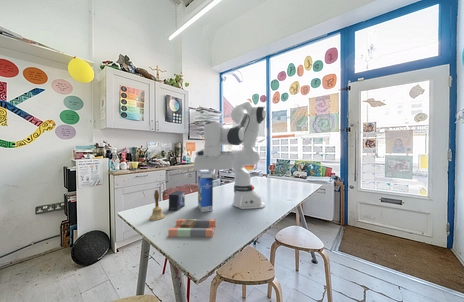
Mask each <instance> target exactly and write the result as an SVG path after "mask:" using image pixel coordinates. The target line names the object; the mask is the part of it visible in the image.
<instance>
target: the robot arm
mask: <svg viewBox="0 0 464 302" xmlns="http://www.w3.org/2000/svg"><path fill="white" fill-rule="evenodd" d="M266 116H267V110H266V108H265V106H263V105H253V103H252V102H251V101H249V100H247V99H244V100H241V101H240V102H238V103H237V104H236V105H235V107H234V108H233V109H231V112H230V117H231V120H232V121H233V122H234V124H236V125H235V126H230V127H227V126H226V127H223V126H222V125H221V124H220V122H219V121H218V120H212V121H211V120H210V121H206V122H205V123H204V126H203V139H204V146H203V147H204V148H203V149H200V150H198V151H196V152H195V157H194V160H193V162H194V163H193V168H194V170H196V171H198V170H209V173H210V174H211V178H213V179H217V178H218V173H219V171H220V170H233V171H232V172H233V175H234V176H233V177H234V184H233V192H234V194H233V201H232V206H233V207H236V208H239V209H242V210H246V209H247V210H249V209H263V208H265V205H266V204H265V202H264V201H263V200H262V197H261V195H260V194H259V193H257V191H255V186H253V184H251V174H250V172H249V170H247V168H246V167H245V166H248V167H250V166H256V165H258V163H259V162H260V154H259V152H258V151H257V150H256V141H257V137H258V135H259V130H260V129H259V127H260V126H259V125H260V124H261V123H262V122H263V121H264V120H265V119H266ZM226 145H230V146H240V145H241V146H243V148H242V149H232V150H229V151H228V150H227V151H225V150H224V151H222V146H226ZM213 170H215V173H213V174H212V172H211V171H213Z"/></svg>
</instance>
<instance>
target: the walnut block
mask: <svg viewBox="0 0 464 302" xmlns="http://www.w3.org/2000/svg"><path fill="white" fill-rule="evenodd" d="M184 219H185V220H184V221H183V222H182V223H181V224H180V228H196V227H195V220H189V219H190V218H184Z"/></svg>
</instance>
